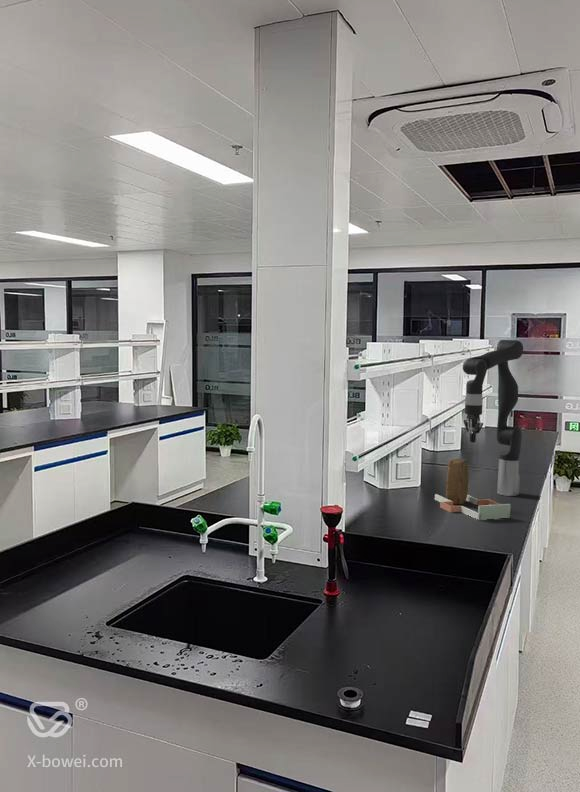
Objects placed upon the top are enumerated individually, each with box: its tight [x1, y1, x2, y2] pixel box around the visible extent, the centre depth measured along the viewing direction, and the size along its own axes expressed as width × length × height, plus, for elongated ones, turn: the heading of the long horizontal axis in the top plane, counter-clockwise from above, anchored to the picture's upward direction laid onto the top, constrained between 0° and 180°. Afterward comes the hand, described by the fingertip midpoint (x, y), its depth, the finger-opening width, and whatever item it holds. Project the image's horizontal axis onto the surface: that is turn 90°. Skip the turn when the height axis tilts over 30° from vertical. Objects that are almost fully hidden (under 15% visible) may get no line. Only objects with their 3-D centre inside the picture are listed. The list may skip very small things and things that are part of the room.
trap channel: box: [434, 493, 512, 521], centre depth 297 cm, size 25×36×6 cm
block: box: [445, 458, 469, 505], centre depth 307 cm, size 11×8×20 cm
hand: (472, 442), depth 301 cm, fingers closed
